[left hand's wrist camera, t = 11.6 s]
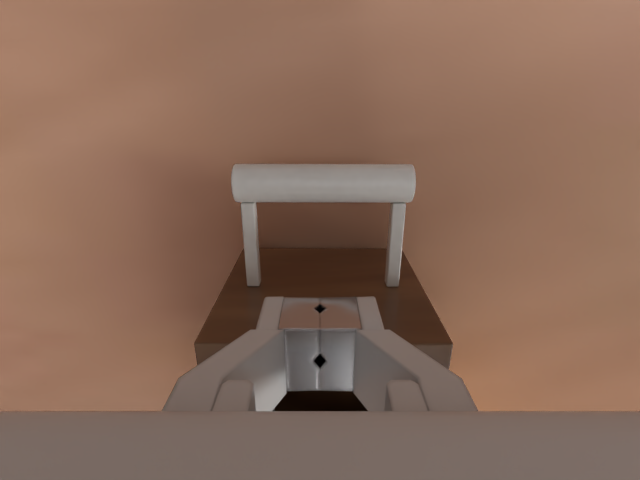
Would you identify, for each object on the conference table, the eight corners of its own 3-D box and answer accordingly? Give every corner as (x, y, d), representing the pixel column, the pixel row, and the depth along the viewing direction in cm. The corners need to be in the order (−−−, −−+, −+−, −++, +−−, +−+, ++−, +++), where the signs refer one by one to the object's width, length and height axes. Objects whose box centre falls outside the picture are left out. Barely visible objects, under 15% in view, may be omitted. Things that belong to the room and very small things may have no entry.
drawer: (235, 150, 20) (170, 188, 11) (410, 150, 20) (478, 188, 11) (260, 464, 28) (235, 621, 20) (382, 464, 28) (409, 622, 20)
